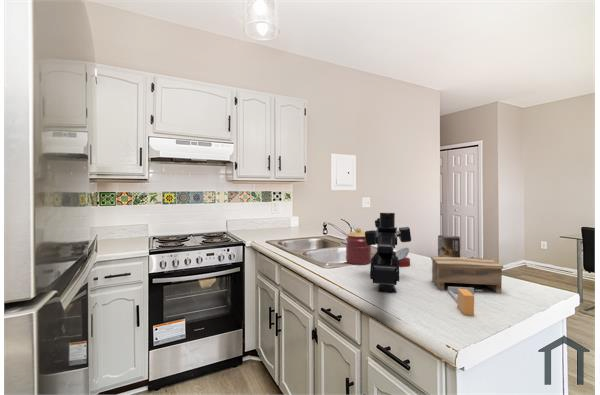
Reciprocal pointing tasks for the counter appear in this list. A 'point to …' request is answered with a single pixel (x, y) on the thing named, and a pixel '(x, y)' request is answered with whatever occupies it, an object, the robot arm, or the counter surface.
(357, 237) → the canister
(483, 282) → the cabinet
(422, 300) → the counter surface
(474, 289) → the steel token
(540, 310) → the counter surface
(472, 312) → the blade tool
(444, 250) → the coffee box
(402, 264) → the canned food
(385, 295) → the counter surface
